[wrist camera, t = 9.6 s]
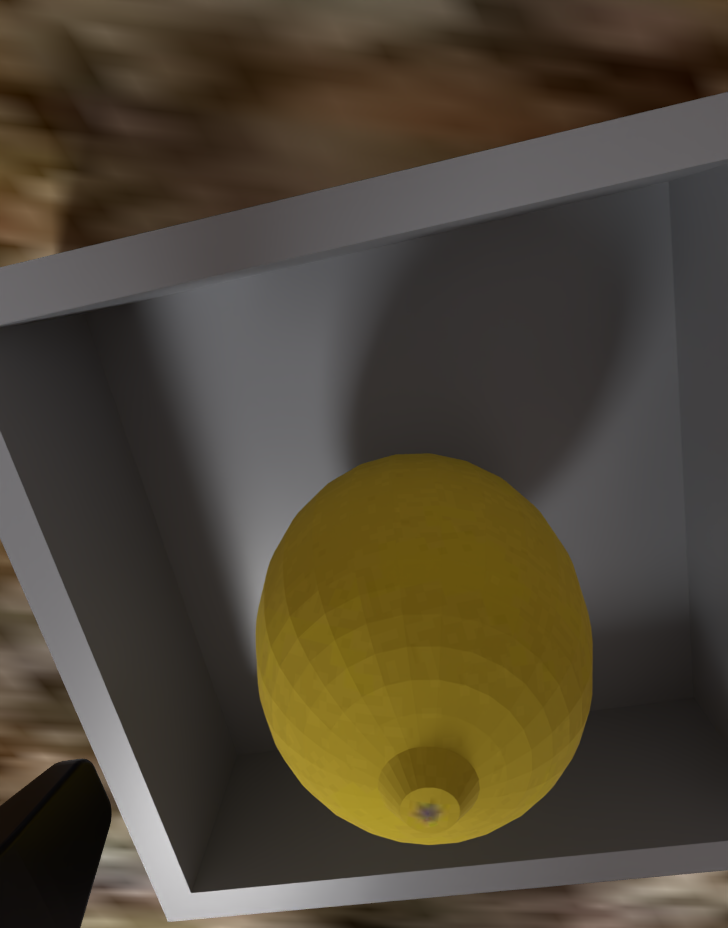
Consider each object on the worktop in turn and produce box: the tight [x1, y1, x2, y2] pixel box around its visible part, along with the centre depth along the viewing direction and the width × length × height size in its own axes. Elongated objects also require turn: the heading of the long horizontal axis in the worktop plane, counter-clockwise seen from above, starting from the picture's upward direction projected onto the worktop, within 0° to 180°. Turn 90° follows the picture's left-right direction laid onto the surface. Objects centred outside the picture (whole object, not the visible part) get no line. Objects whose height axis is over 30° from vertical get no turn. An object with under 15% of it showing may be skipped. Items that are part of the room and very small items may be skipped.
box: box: [0, 92, 728, 922], centre depth 13 cm, size 14×14×4 cm
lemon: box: [256, 453, 593, 845], centre depth 10 cm, size 6×6×8 cm
